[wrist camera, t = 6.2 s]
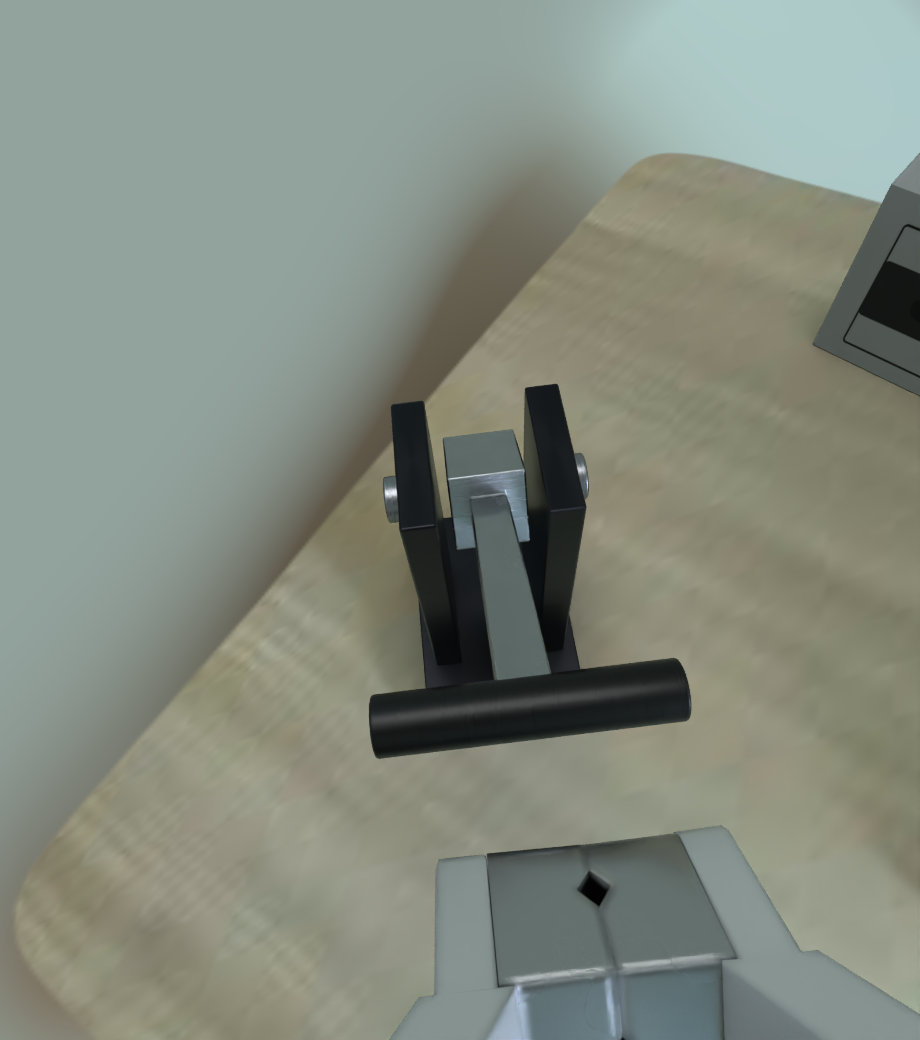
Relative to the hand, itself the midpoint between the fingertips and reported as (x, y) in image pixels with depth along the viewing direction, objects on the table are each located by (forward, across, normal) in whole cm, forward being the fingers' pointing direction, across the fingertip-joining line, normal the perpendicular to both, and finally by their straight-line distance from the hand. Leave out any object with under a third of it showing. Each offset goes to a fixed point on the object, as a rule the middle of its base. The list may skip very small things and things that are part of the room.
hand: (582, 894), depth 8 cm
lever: (+11, 0, +1) cm, 11 cm away
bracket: (+22, 0, +6) cm, 23 cm away
